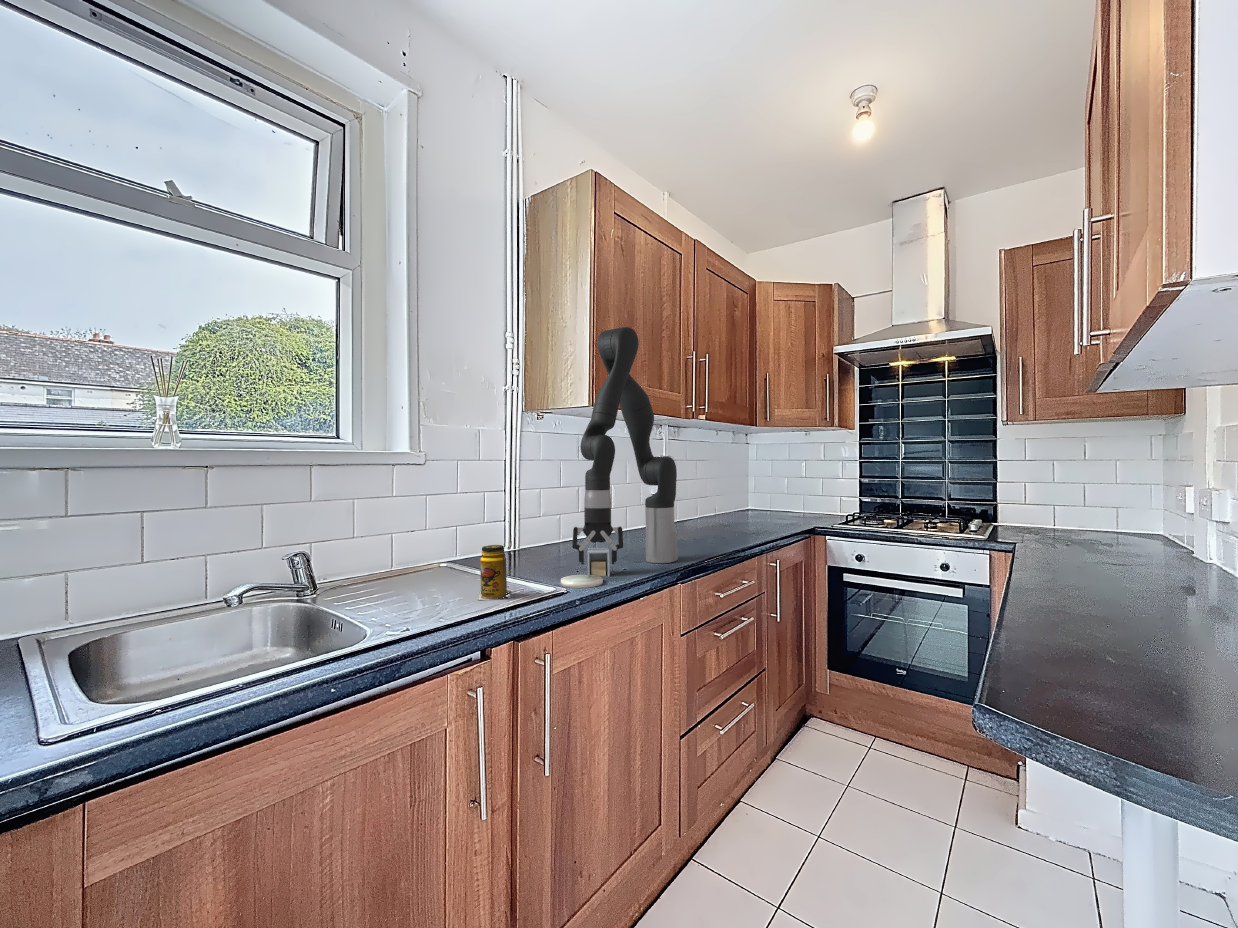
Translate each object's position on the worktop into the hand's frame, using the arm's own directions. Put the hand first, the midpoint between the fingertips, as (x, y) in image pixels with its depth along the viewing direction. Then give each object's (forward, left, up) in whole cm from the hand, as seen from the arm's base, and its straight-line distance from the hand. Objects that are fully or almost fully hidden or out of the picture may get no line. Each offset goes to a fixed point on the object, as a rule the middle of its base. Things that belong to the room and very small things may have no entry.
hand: (597, 563), depth 157 cm
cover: (0, 0, -3) cm, 3 cm away
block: (0, 0, -3) cm, 3 cm away
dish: (+9, +7, -3) cm, 12 cm away
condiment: (+33, +7, -3) cm, 34 cm away
